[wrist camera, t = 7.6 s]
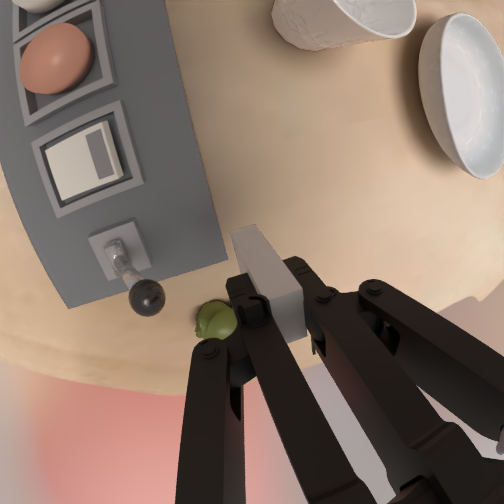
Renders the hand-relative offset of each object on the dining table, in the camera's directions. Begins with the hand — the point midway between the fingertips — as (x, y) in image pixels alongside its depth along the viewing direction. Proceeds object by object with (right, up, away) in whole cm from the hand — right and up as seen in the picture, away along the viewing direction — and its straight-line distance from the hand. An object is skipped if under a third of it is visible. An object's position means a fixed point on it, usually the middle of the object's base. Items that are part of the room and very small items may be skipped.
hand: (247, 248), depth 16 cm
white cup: (+5, +21, +2) cm, 21 cm away
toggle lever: (-10, -1, +2) cm, 10 cm away
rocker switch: (-11, +6, -1) cm, 13 cm away
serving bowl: (+25, +21, +8) cm, 34 cm away
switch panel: (-13, +11, +1) cm, 17 cm away
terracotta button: (-13, +13, -4) cm, 19 cm away
